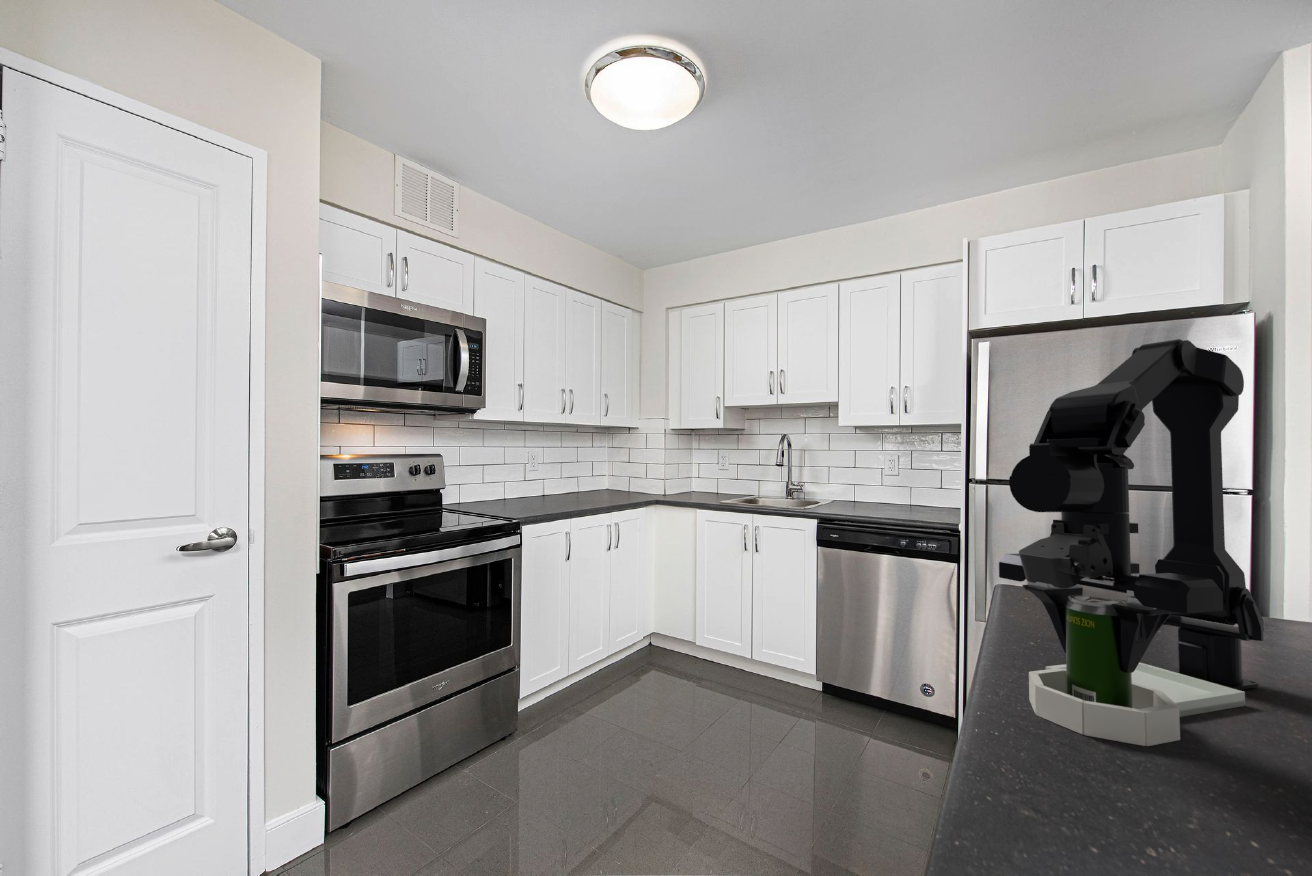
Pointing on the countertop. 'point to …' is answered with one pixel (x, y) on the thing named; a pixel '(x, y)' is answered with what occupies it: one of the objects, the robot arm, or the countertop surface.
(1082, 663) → the beer can
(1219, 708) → the tray
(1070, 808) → the countertop surface
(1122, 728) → the cup
